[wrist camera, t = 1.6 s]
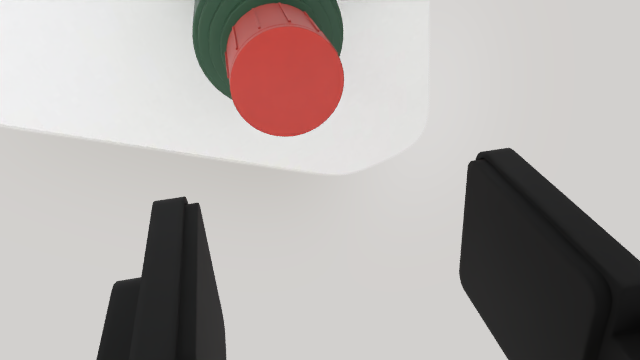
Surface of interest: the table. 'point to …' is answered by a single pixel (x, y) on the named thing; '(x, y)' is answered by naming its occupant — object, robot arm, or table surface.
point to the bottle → (223, 13)
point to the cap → (282, 70)
